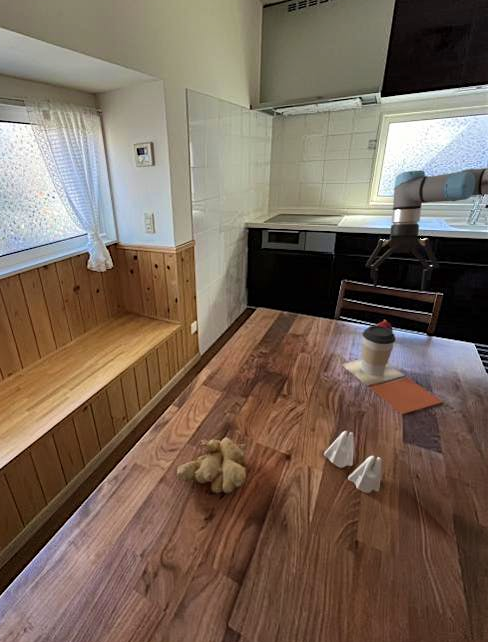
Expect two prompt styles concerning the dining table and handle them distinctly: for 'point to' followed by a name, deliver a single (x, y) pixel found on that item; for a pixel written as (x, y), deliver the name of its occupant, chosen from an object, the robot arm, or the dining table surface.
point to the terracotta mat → (406, 395)
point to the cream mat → (370, 379)
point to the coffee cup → (376, 349)
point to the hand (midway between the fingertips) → (398, 289)
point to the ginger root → (217, 466)
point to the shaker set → (342, 456)
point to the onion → (385, 325)
